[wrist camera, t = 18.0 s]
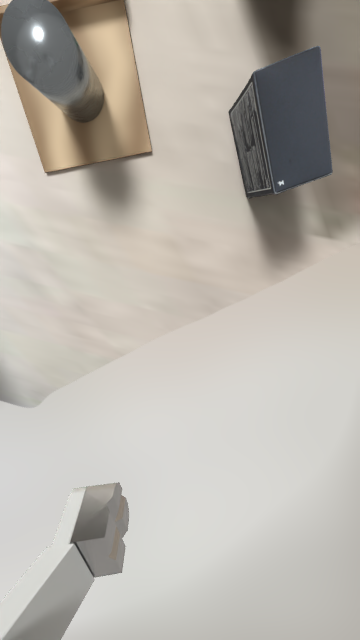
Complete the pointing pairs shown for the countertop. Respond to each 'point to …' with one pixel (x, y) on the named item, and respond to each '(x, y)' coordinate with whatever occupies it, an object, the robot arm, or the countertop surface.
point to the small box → (283, 126)
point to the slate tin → (51, 58)
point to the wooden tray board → (118, 86)
